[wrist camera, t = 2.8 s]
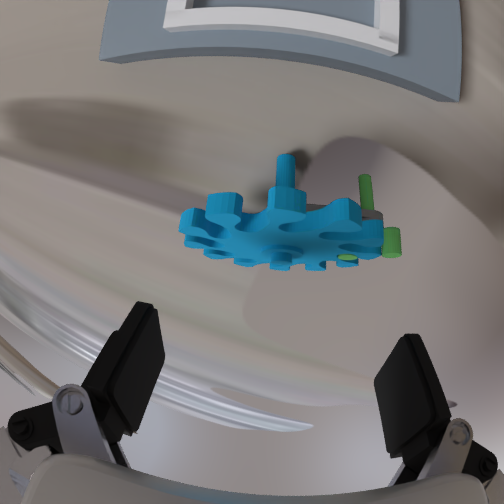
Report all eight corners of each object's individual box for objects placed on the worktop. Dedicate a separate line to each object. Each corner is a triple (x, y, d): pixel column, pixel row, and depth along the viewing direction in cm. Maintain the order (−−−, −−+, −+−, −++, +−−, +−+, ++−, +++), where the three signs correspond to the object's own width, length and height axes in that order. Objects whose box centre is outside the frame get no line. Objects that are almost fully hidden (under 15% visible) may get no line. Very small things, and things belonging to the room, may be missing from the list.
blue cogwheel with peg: (204, 273, 19) (138, 221, 9) (215, 194, 20) (174, 97, 10) (366, 284, 18) (450, 243, 8) (364, 204, 19) (422, 116, 9)
